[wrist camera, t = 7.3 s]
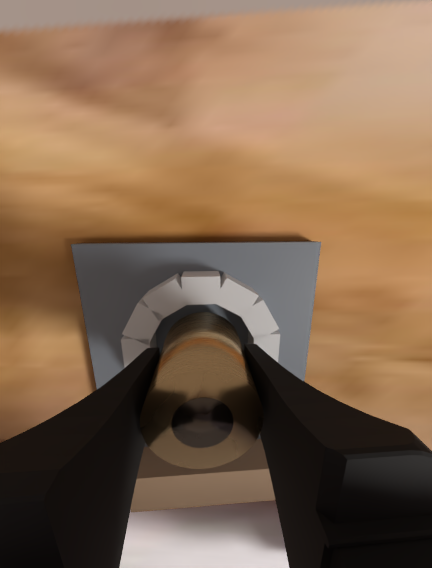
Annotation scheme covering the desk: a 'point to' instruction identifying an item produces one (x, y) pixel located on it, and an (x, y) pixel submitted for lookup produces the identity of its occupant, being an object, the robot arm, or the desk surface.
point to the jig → (186, 300)
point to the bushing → (201, 396)
